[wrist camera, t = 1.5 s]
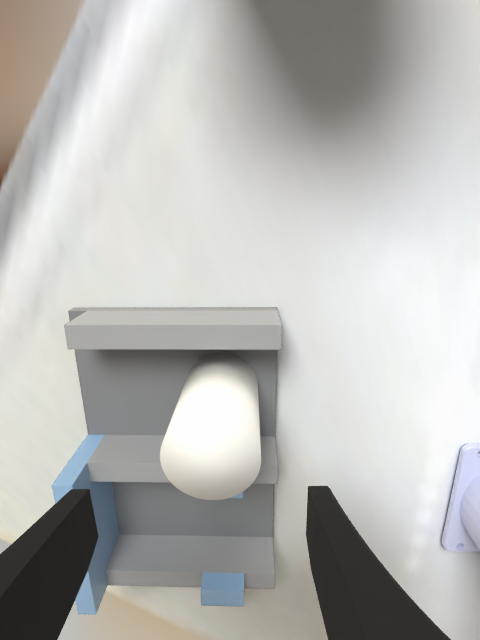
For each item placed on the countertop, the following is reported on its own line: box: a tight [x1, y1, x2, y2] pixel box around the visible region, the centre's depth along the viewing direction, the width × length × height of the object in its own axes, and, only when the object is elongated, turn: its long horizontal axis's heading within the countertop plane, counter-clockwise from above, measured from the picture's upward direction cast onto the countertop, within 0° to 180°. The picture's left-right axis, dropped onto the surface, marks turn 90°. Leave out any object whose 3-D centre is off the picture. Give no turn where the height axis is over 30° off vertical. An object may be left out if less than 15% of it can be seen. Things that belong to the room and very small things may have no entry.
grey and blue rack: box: [52, 307, 282, 615], centre depth 19 cm, size 11×16×5 cm
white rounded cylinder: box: [160, 353, 261, 500], centre depth 17 cm, size 4×4×6 cm
